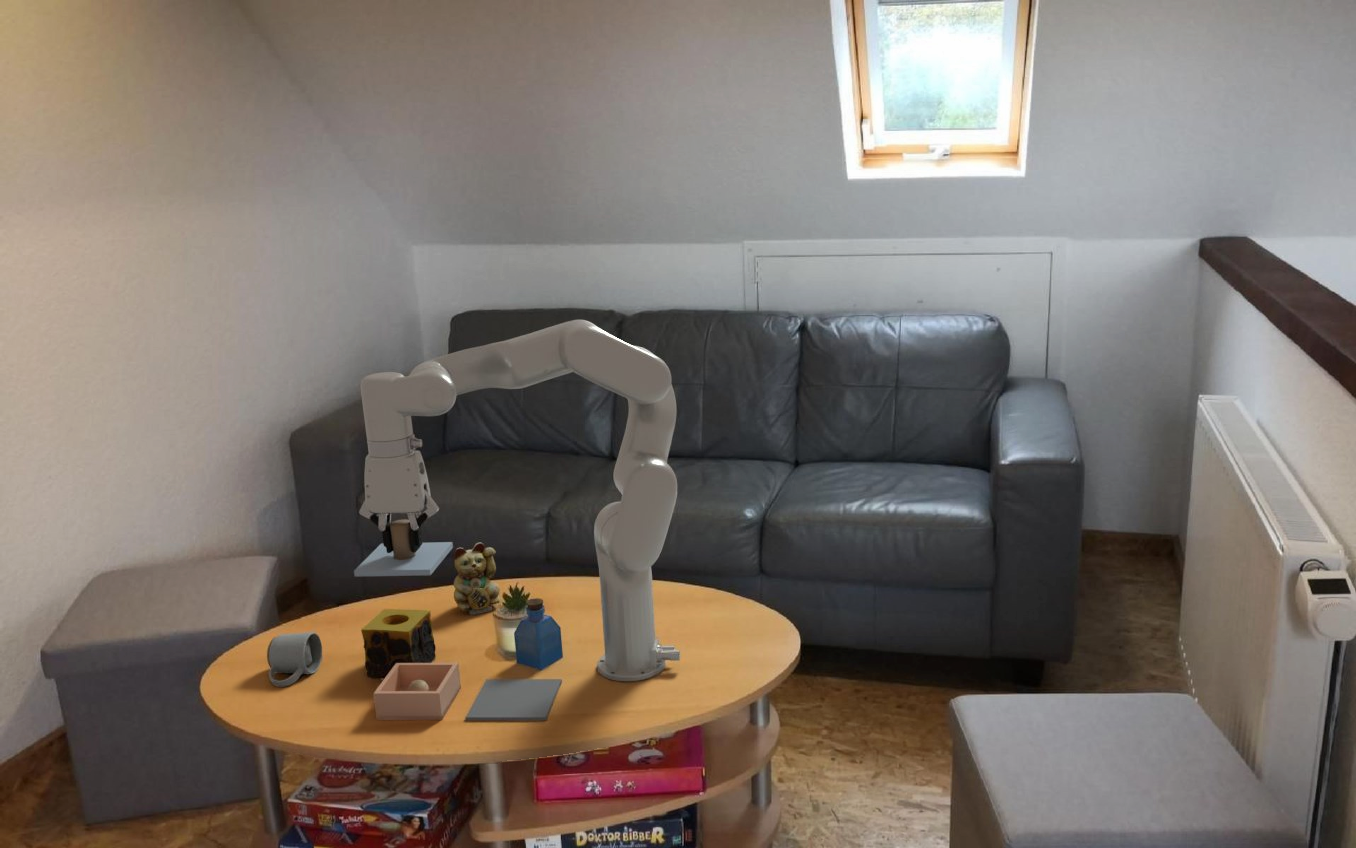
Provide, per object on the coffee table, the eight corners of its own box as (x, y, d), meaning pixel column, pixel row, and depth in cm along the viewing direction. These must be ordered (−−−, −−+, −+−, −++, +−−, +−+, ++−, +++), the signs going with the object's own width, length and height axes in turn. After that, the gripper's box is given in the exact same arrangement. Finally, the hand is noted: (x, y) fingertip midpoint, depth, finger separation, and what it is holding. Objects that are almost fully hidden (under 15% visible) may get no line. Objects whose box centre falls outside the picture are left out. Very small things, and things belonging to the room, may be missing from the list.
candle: (415, 682, 207) (409, 632, 205) (365, 679, 210) (359, 630, 207) (437, 657, 217) (432, 609, 215) (389, 655, 219) (383, 607, 217)
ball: (432, 694, 200) (430, 676, 199) (426, 704, 197) (424, 685, 196) (412, 694, 201) (410, 676, 200) (406, 704, 197) (404, 685, 196)
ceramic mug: (285, 662, 218) (279, 625, 216) (325, 662, 217) (320, 625, 215) (259, 688, 208) (253, 651, 206) (301, 689, 207) (295, 651, 205)
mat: (561, 682, 204) (561, 679, 204) (546, 720, 191) (545, 717, 191) (486, 682, 206) (486, 679, 206) (465, 720, 192) (465, 717, 192)
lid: (453, 547, 198) (448, 509, 196) (430, 575, 186) (425, 535, 184) (381, 548, 199) (377, 511, 198) (354, 576, 187) (349, 536, 185)
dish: (461, 688, 204) (458, 662, 203) (442, 720, 193) (439, 693, 192) (399, 688, 205) (396, 663, 204) (376, 719, 194) (373, 693, 193)
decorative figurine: (461, 620, 234) (454, 552, 230) (449, 607, 241) (442, 541, 237) (505, 609, 238) (499, 542, 235) (492, 596, 245) (485, 531, 242)
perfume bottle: (562, 657, 214) (558, 598, 211) (541, 670, 209) (536, 610, 206) (538, 650, 218) (533, 593, 215) (516, 663, 213) (511, 604, 210)
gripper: (446, 439, 190) (457, 541, 195) (351, 442, 192) (365, 543, 196) (432, 451, 183) (444, 557, 188) (334, 454, 185) (349, 559, 189)
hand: (403, 549), depth 192 cm, fingers closed on lid, 3 cm apart
